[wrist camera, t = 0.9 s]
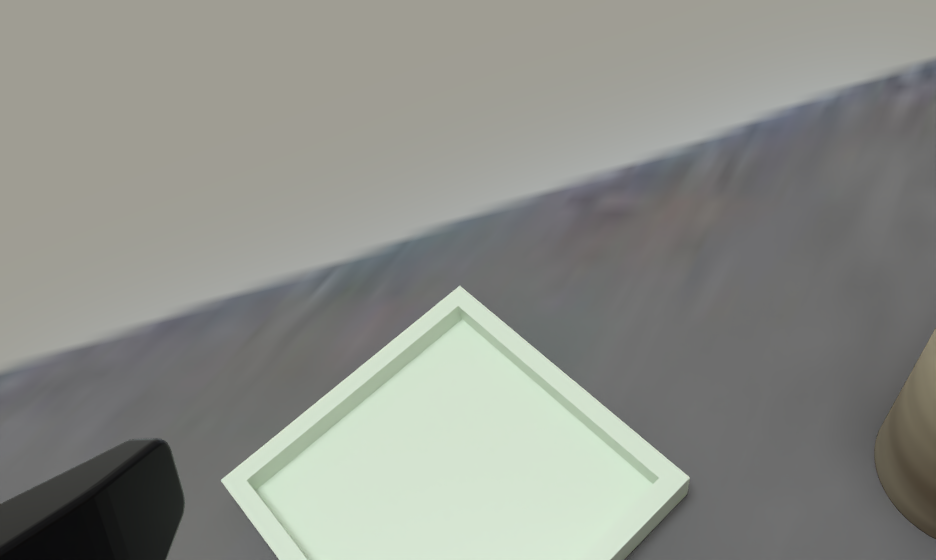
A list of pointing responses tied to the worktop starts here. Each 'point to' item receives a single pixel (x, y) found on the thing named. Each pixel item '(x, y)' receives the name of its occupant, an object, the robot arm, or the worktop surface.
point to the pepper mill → (912, 445)
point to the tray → (456, 458)
